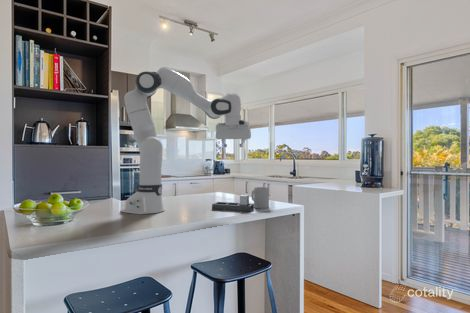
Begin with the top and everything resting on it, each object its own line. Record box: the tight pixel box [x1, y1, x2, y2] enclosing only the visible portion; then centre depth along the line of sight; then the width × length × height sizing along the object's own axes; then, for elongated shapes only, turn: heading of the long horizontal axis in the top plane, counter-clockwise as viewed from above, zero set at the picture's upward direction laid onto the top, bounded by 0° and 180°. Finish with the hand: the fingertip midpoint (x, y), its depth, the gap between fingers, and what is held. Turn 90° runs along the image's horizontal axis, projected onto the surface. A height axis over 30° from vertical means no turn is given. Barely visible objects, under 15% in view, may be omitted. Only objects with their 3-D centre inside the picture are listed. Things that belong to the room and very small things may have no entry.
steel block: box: [239, 194, 250, 206], centre depth 161 cm, size 4×4×8 cm
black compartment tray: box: [211, 201, 255, 213], centre depth 163 cm, size 21×9×3 cm, turn 73°
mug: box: [251, 186, 270, 210], centre depth 171 cm, size 12×8×11 cm
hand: (233, 147), depth 169 cm, fingers open, 8 cm apart
